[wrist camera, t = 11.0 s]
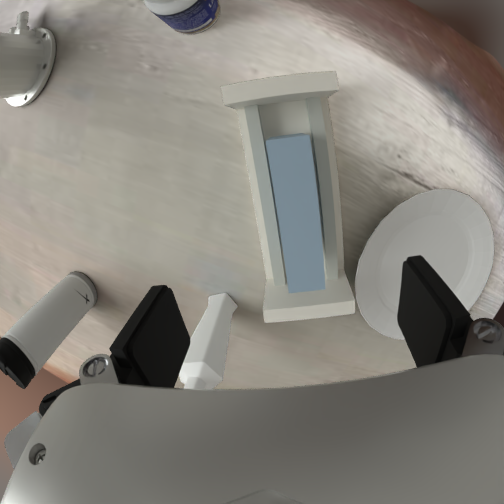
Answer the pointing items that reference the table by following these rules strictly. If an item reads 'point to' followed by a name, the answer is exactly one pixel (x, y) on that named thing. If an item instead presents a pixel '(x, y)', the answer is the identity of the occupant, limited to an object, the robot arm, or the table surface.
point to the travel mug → (45, 327)
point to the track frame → (254, 143)
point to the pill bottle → (186, 14)
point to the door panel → (297, 210)
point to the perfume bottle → (209, 345)
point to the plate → (424, 253)
